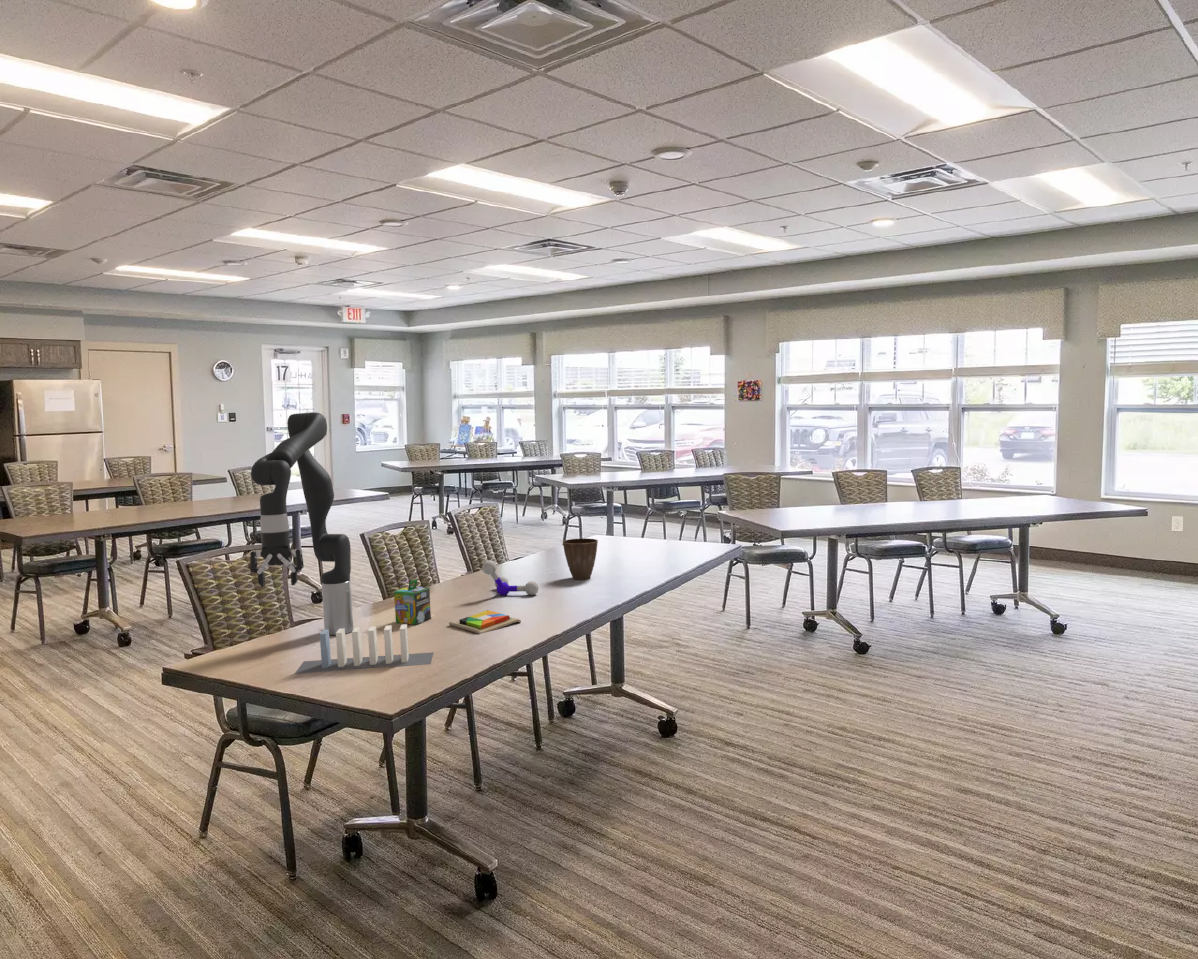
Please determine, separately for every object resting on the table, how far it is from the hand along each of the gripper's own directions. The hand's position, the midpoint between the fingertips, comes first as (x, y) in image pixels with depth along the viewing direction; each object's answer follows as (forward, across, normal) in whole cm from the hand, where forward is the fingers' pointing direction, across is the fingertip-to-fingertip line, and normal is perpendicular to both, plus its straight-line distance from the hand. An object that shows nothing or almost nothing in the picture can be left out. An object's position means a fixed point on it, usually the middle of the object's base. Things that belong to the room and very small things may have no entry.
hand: (278, 585), depth 244 cm
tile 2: (+24, +17, -1) cm, 29 cm away
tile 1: (+24, +12, -1) cm, 27 cm away
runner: (+24, +24, -1) cm, 34 cm away
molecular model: (+24, +69, +82) cm, 110 cm away
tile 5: (+24, +30, -1) cm, 39 cm away
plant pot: (+23, +97, +105) cm, 145 cm away
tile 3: (+24, +21, -1) cm, 32 cm away
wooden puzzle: (+25, +58, +37) cm, 73 cm away
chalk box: (+24, +32, +48) cm, 62 cm away
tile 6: (+24, +35, -1) cm, 42 cm away
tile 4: (+24, +26, -1) cm, 35 cm away
